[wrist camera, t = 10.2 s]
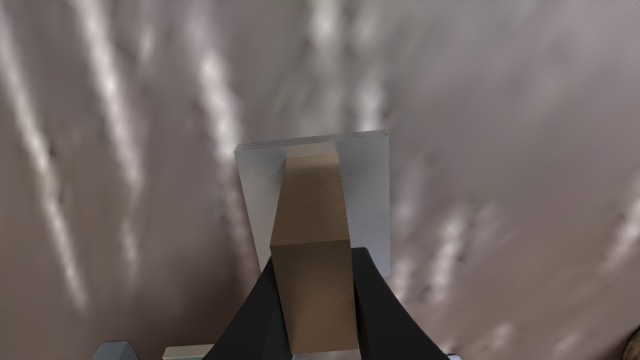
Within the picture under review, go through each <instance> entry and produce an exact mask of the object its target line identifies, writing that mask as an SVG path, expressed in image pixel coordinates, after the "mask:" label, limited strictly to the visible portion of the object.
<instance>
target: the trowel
mask: <svg viewBox="0 0 640 360" xmlns="http://www.w3.org/2000/svg"><path fill="white" fill-rule="evenodd" d="M234 154H235V158H236V163H237V167H238V172H239V176H240V180H241V185H242V189H243V194H244V198H245V203H246V207H247V212H248V216H249V220H250V225H251V229H252V234H253V238H254V243H255V247H256V252H257V256H258V260H259V265H260V269H261V273H262V271H263V269H264V268H265V266H266V264H267V262H268V259H269V257H270V256H272V261H273V266H274V271H275V276H276V281H277V286H278V291H279V296H280V301H281V306H282V311H283V316H284V321H285V326H286V331H287V335H288V340H289V345H290V350H291V354H299V353H312V352H326V351H339V350H353V349H358V340H357V326H356V313H355V299H354V285H353V272H352V258H351V248H357V247H366V248H367V249H368V251H369V253H370V256H371V258H372V260H373V262H374V264H375V265H376V267H377V269H378V271H379V272H380V274H381V276H382V277H390V180H389V135H388V133H387V132H386V130H375V131H365V132H355V133H344V134H334V135H324V136H313V137H303V138H293V139H282V140H272V141H262V142H251V143H241V144H238V145H237V147H236V148H235V150H234Z"/></svg>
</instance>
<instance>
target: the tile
mask: <svg viewBox="0 0 640 360" xmlns="http://www.w3.org/2000/svg"><path fill="white" fill-rule="evenodd" d="M213 345H214V344H207V345H192V346H177V347H167V348H166V350H165V352H164V355H163V357H162V358H163V360H202V358H203V357H204V356H205V355H206V354H207V353H208V351H209V350H210V349H211V348H212V347H213Z"/></svg>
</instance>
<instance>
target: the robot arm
mask: <svg viewBox="0 0 640 360" xmlns="http://www.w3.org/2000/svg"><path fill="white" fill-rule="evenodd" d="M351 258H352V272H353V285H354V299H355V313H356V326H357V339H358V344H359V349H360V354H361V358H362V360H461V358H460V357H459V356H457V355H451V356H447V355H446V354H444V353H443V352H442V351H441V350H440V349H439V348H438V346H437V345H436V344H435V343H434V342H433V341H432V340H431V339H430V338H429V337H428V336H427V335H426V334H425V333H424V331H423V330H422V329H421V328H420V327H419V326H418V325H417V324H416V322H415V321H414V320H413V319H412V318H411V316H410V315H409V314H408V313H407V311H406V310H405V309H404V307H403V306H402V305H401V304H400V302H399V301H398V299H397V298H396V297H395V295H394V294H393V292H392V291H391V289H390V288H389V286H388V285H387V284H386V282H385V281H384V279H383V277H382V276H381V274H380V272H379V271H378V269H377V267H376V265H375V264H374V262H373V260H372V258H371V256H370V253H369V251H368V249H367V248H366V247H357V248H351ZM292 359H293V354H291V350H290V345H289V340H288V335H287V331H286V326H285V321H284V316H283V311H282V306H281V301H280V296H279V291H278V286H277V281H276V276H275V271H274V266H273V261H272V256H270V257H269V259H268V262H267V264H266V266H265V268H264V269H263V271H262V273H261V275H260V277H259V279H258V280H257V282H256V284H255V286H254V287H253V289H252V291H251V292H250V294H249V296H248V297H247V299H246V301H245V302H244V304H243V305H242V307H241V308H240V310H239V311H238V313H237V314H236V316H235V317H234V319H233V320H232V322H231V323H230V324H229V326H228V327H227V329H226V330H225V331H224V333H223V334H222V335H221V337H220V338H219V339H218V340H217V342H216V343H215V344H214V345H213V347H212V348H211V349H210V350H209V351H208V353H207V354H206V355H205V356H204V357H203V358H202V360H292Z"/></svg>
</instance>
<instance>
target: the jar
mask: <svg viewBox="0 0 640 360" xmlns="http://www.w3.org/2000/svg"><path fill="white" fill-rule="evenodd" d="M622 360H640V329H639V330H638V331H637V333H636V334H635V335H634V336H633V337H632V339H631V340H630V341H629V343H628V345H627V346H626V348H625V350H624V353H623V357H622Z"/></svg>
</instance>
